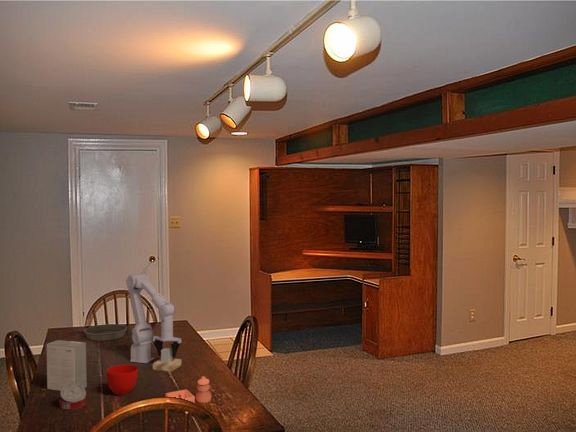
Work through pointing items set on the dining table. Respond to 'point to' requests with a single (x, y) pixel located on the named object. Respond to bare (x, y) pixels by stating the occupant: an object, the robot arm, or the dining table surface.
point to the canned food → (72, 396)
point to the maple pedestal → (167, 365)
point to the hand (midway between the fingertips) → (167, 356)
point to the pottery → (201, 395)
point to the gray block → (166, 355)
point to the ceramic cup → (122, 378)
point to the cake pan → (105, 332)
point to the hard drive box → (65, 363)
